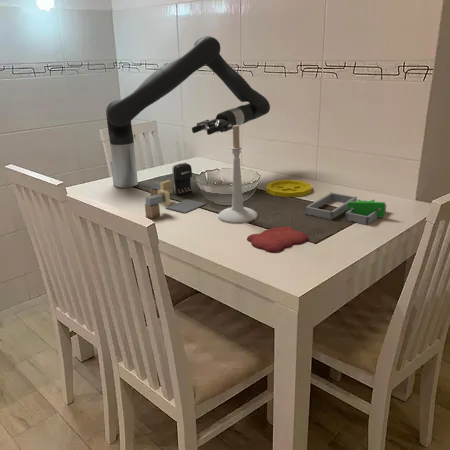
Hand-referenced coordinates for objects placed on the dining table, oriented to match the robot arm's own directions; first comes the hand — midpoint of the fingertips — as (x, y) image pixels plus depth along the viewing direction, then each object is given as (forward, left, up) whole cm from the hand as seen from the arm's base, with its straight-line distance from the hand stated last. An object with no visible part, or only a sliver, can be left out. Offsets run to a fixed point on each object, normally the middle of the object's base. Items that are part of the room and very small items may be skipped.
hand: (200, 131), depth 179 cm
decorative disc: (+29, +16, -23) cm, 40 cm away
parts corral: (+58, +5, -22) cm, 63 cm away
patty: (+51, -27, -23) cm, 63 cm away
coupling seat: (+9, -20, -22) cm, 32 cm away
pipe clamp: (+65, +5, -22) cm, 68 cm away
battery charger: (-2, -9, -22) cm, 24 cm away
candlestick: (+30, -18, -22) cm, 42 cm away
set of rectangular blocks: (+2, -27, -22) cm, 35 cm away
